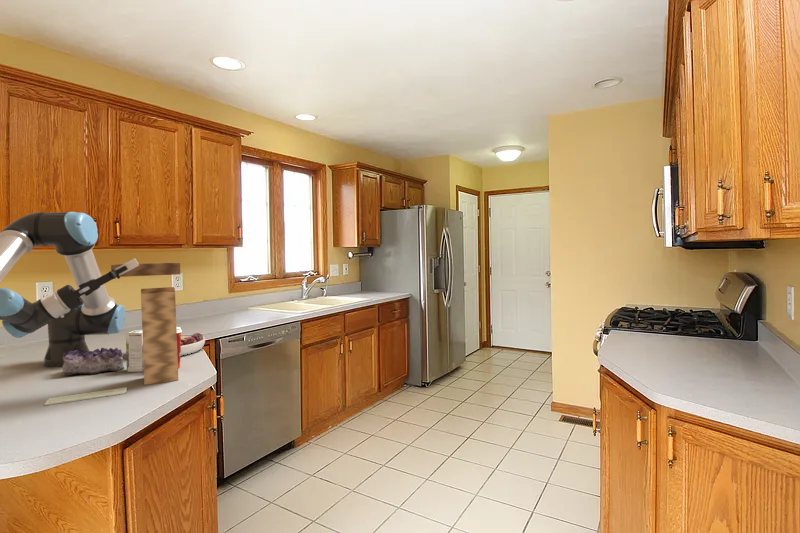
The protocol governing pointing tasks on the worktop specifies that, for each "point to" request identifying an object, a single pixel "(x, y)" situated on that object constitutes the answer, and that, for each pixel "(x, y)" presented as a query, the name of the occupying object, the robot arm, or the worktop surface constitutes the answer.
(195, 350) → the bowl
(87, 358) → the geode
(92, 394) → the sage mat
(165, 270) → the walnut bar
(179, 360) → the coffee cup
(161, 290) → the oak pedestal
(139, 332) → the syrup box
